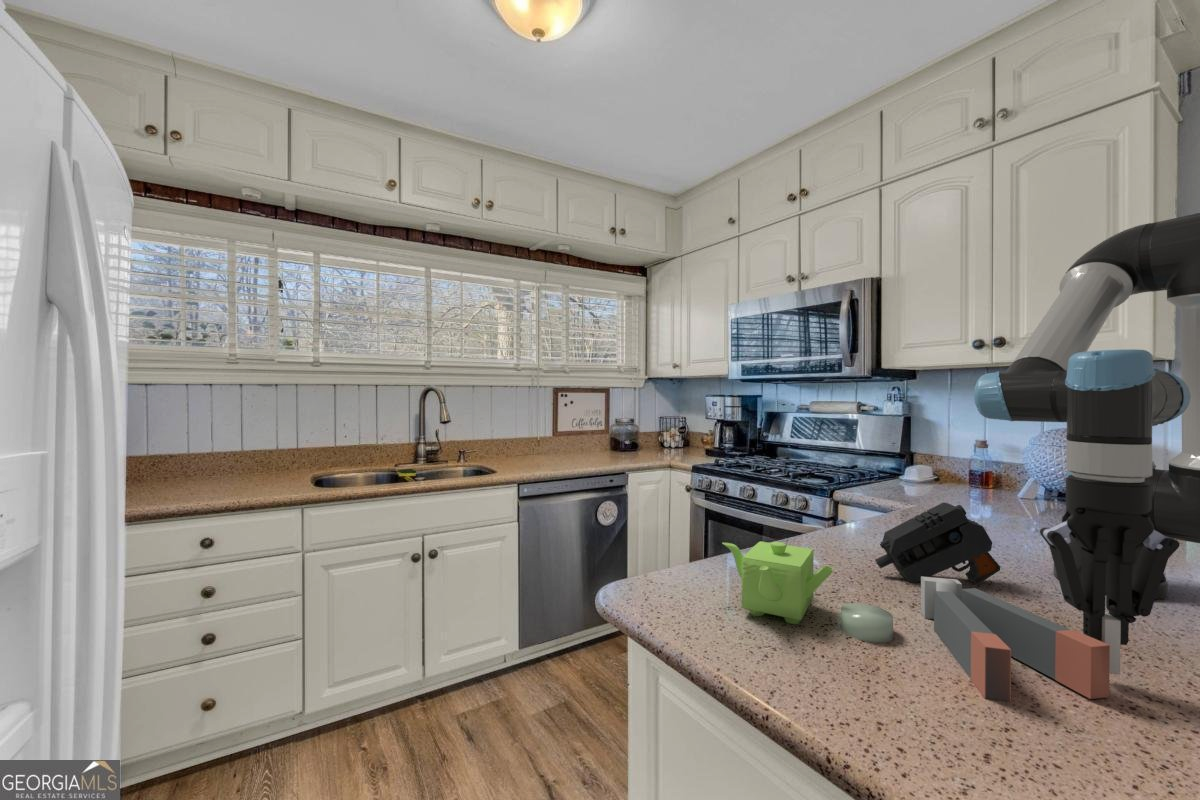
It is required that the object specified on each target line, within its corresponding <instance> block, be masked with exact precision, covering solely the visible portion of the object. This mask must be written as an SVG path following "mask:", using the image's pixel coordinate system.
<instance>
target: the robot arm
mask: <svg viewBox="0 0 1200 800" xmlns="http://www.w3.org/2000/svg"><path fill="white" fill-rule="evenodd" d="M1058 290H1059V294H1058V295H1057V297H1056V299H1055V300H1054V301H1053V302H1052V305H1051V306H1050V307H1049V309H1047V310H1048V311H1047V312H1046V313H1045V315H1044V316H1043V317H1042V318H1041V320H1040V322H1039V323H1038V325H1037V326H1036V327H1035V329H1034V331H1033V332H1032V334H1031V335H1030V337H1029V338H1028V339H1027V341H1026V342H1025V343H1024V345H1023V346H1022V348H1021V349H1020V351H1019V352H1018V354H1017V356H1016V357H1015V358H1014V360H1013V362H1012V363H1011V364H1010V365H1009V366H1008V368H1007V369H1006V371H996V372H991V373H990V372H989V373H985V374H982V375H981V376H980V377H979V378H978V380H977V381H976V383H975V387H974V392H973V398H974V399H973V400H974V404H975V406H976V409H977V411H978V413H979V415H981V416H982V417H984V418H986V419H990V420H997V421H998V420H999V421H1000V420H1001V421H1009V422H1035V423H1036V422H1039V423H1040V422H1041V423H1066V441H1065V442H1066V443H1065V444H1066V447H1065V448H1066V449H1065V450H1066V453H1065V455H1066V458H1065V461H1066V462H1065V466H1066V467H1065V468H1066V470H1067V471H1066V472H1067V473H1066V477H1065V484H1064V487H1065V513H1064V514H1063V516H1062V517H1061V522H1060V523H1059V524H1057V525H1055V526H1053V527H1051V528H1049V527H1041V529H1040V530H1039V534H1040V535H1041V537H1042V538H1043V539H1044V541H1045V543H1046V544H1047V545H1048V546H1049V550H1050V553H1051V557H1052V561H1053V576H1054V577H1055V578H1056V579H1058V581H1059V582H1058V583H1059V586H1060V590H1061V593H1062V597H1063V600H1064V602H1066V603H1067V604H1068V605H1070V606H1072V607H1073V608H1075V609H1076V610H1078V611H1080V612H1082V613H1083V614H1082V616H1083V617H1082V619H1083V620H1082V625H1083V626H1082V633H1083V634H1085V635H1087V636H1090V637H1092V638H1094V639H1097V640H1099V641H1101V642H1104V643H1106V644H1108V645H1110V667H1109V674H1111V675H1112V674H1113V675H1121V646H1127V645H1128V644H1129V639H1130V638H1129V636H1130V635H1129V633H1130V632H1129V631H1130V628H1129V625H1130V624H1133V623H1135V622H1136V621H1137V617H1139V616H1141V617H1148V616H1150V615H1151V613H1152V609H1153V606H1154V603H1155V601H1156V600H1160V599H1164V598H1166V597H1168V594H1169V593H1168V592H1169V591H1168V590H1169V589H1168V586H1169V584H1168V581H1167V578H1166V575H1165V569H1166V566H1167V565H1168V564H1167V563H1168V560H1169V559H1170V558H1171V557H1172V555H1173V554H1174V553H1175V552H1176V551H1177V550H1178V549H1179V547H1180V542H1179V541H1183V542H1189V543H1195V544H1200V212H1198V213H1197V212H1196V213H1193V214H1188V215H1183V216H1178V217H1173V218H1168V219H1166V220H1165V219H1164V220H1160V221H1159V220H1158V221H1155V222H1148V223H1144V224H1140V225H1137V226H1133V227H1130V228H1127V229H1124V230H1122V231H1119V232H1117V233H1115V234H1113V235H1112V236H1110V237H1108V238H1106V239H1105V240H1103V241H1101V242H1100V243H1098V244H1096V245H1095V246H1093V247H1092V248H1090V250H1088V251H1086V252H1085V253H1084V254H1082V256H1081V257H1079V258H1078V259H1077V260H1076V261H1075V262H1074V263H1073V264H1071V266H1070V267H1069V268H1068V269H1067V271H1066V272H1065V274H1064V275H1063V276H1062V278H1061V280H1060V282H1059V288H1058ZM1161 291H1166V301H1168V302H1169V303H1171V304H1172V305H1174V306H1175V307H1177V308H1178V309H1179V310H1180V370H1181V371H1180V377H1179V376H1178V375H1176V374H1174V373H1171V372H1169V371H1166V370H1165V369H1159V368H1157V367H1154V359H1153V355H1152V352H1150V351H1148V350H1146V349H1103V350H1090V351H1089V349H1090V347H1091V346H1092V345H1093V344H1092V343H1094V341H1095V339H1096V338H1097V336H1098V334H1099V332H1100V331H1101V330H1102V327H1103V325H1104V324H1105V323H1106V321H1107V320H1108V317H1109V316H1110V315H1111V313H1112V311H1113V309H1114V308H1117V307H1119V306H1120V305H1122V304H1123V303H1125V302H1126V301H1127V300H1128V299H1129V297H1130V296H1134V295H1138V294H1142V293H1150V292H1154V293H1155V292H1161ZM1180 416H1181V452H1180V453H1179V454H1177V455H1176V456H1174V457H1173V458H1172V459H1170V460H1168V470H1167V469H1158V468H1157V465H1156V464H1155V462H1154V461H1153V427H1156V426H1158V425H1164V424H1165V423H1169V422H1171V421H1173V420H1175V419H1177V418H1178V417H1180ZM1106 610H1107V611H1108V612H1107V611H1106Z"/></svg>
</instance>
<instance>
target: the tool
mask: <svg viewBox="0 0 1200 800" xmlns="http://www.w3.org/2000/svg"><path fill="white" fill-rule="evenodd" d="M966 515H967V512H966V510H965V508H964V507H963V505H961V504H958V505H953V504H951V503H948V502H944V501H943V502H941V503H940V504H938V505H935V506H933V507H931V508H929V509H926V511H923V512H921V513H919V514H917V515H915V516H913V517H912V518H909V519H907V520H905V521H904V522H902V523H900V524H899V525H896V526H895V527H892V528H890V529H889V530H887V531H885V532H884V534H883V538H882V541H880V544H879V546H880V548H881V549H883V550H884V551H885V553H886V554H883V555H881V556H880V557H878V558H875V559H874V561H875V563H876V564H877V566H878V568H880V569H882V568H885V567H886V566H889V565H891V564H892V565H893V567H895V569H896V570H897V572H898V573H899V574H900V575H901V576H902V577H903V578H904V579H906V580H907V581H908V582H911V583H913V584H915V583H918V582H921V577H932V576H935V575H937V574H939V573H941V572H943V571H946V570H948V569H950V568H951V569H952V570H953V571H955V572H957V573H962V572H964V571H965V570H967V569H968V568H969V569H968V571H967V572H965V574H964V575H965V576H966V578H968V580H969V581H971V582H973V583H974V584H975V585H977V586H978V585H980V584H981V583H983V582H984V581H986V580H987V579H989V578H990V577H992V576H994V575H995V574H997V573H999V572H1000V571H1001V565H1000V564H999V563H998V562H997V561H996V560H995V558H994V557H993V556H992V555H991V554H990V553H989V552H991V551H992V548H993V540H992V539H991V538H990V536H989V534H988V532H987V530H986V529H985V527H984V526H983V525H982V524H979V523H978V522H977V521H975V520H971V519H968V516H966ZM966 562H967V563H966ZM960 564H963V566H961V567H959V568H958V567H957V565H960Z"/></svg>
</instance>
